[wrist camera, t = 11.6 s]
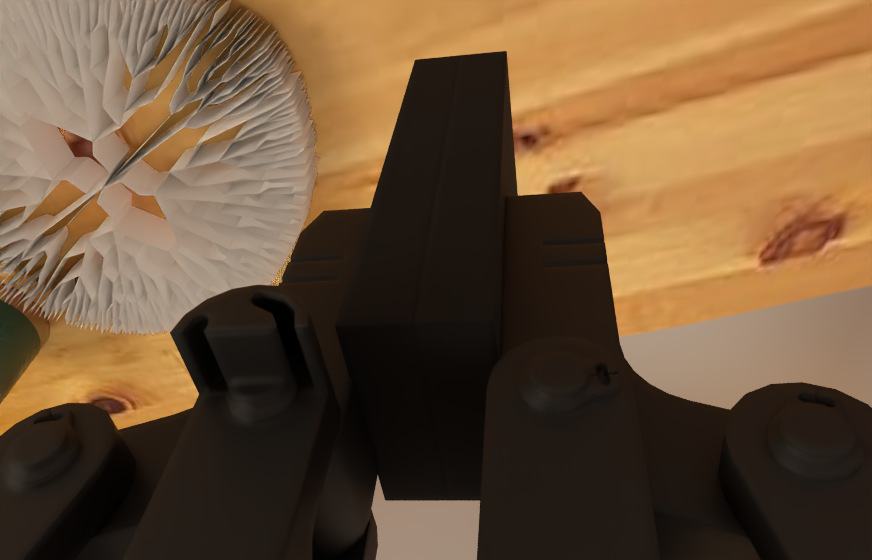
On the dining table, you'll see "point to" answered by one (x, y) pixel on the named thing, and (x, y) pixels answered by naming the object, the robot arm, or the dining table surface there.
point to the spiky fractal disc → (174, 191)
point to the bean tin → (18, 338)
